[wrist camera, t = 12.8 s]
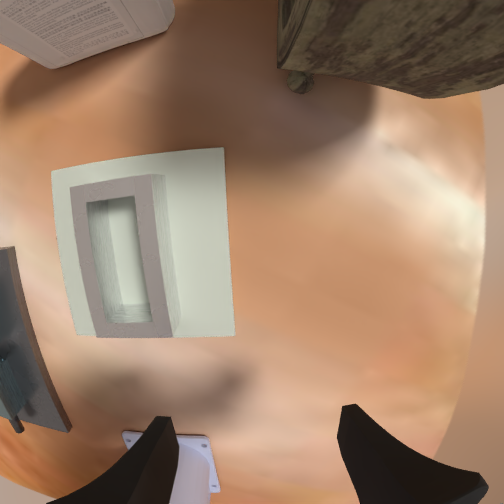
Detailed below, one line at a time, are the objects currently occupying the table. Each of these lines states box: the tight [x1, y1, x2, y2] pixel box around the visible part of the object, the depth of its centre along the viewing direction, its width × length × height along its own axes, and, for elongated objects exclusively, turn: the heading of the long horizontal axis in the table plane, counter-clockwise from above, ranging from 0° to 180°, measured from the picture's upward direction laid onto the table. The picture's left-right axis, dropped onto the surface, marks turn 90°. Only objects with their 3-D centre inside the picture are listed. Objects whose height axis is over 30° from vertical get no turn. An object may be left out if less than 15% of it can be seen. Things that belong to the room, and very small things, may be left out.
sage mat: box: [51, 147, 235, 338], centre depth 19 cm, size 12×12×1 cm
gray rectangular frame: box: [70, 174, 182, 338], centre depth 17 cm, size 9×5×3 cm, turn 4°
